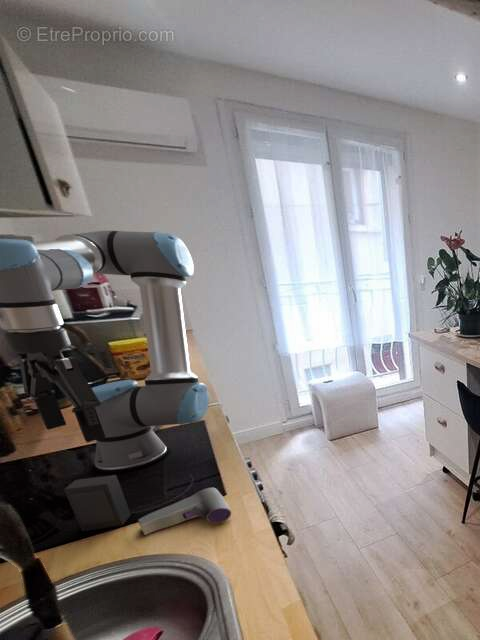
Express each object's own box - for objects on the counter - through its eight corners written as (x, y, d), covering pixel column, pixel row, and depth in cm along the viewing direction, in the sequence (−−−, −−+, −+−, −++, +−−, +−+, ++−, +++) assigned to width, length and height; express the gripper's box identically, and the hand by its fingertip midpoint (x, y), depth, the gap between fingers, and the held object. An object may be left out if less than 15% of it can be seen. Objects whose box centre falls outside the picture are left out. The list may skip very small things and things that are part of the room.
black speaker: (92, 521, 94) (75, 479, 90) (131, 515, 96) (116, 474, 93) (81, 532, 90) (63, 489, 86) (122, 526, 93) (106, 484, 89)
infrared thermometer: (142, 530, 93) (220, 498, 103) (154, 555, 86) (236, 518, 96) (134, 514, 91) (214, 483, 102) (146, 538, 84) (230, 503, 95)
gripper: (-32, 324, 76) (15, 428, 83) (43, 340, 68) (87, 453, 75) (27, 319, 82) (65, 415, 90) (101, 332, 74) (136, 437, 82)
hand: (75, 433), depth 82 cm, fingers open, 13 cm apart
